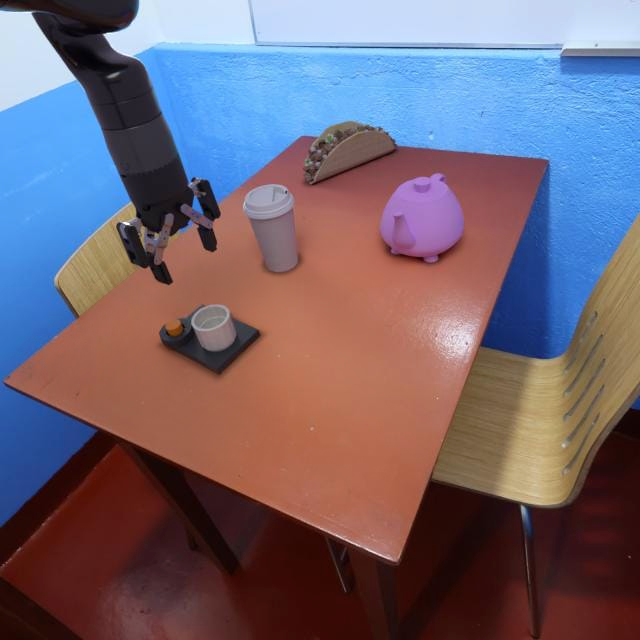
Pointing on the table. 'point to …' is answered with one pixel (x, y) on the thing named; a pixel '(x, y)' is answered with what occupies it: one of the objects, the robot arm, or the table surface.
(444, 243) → the teapot
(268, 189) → the coffee cup
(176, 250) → the table surface
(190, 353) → the dark grey flat slab
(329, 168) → the taco
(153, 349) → the table surface
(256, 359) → the table surface
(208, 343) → the white round cup
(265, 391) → the table surface
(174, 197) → the robot arm
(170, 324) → the button
